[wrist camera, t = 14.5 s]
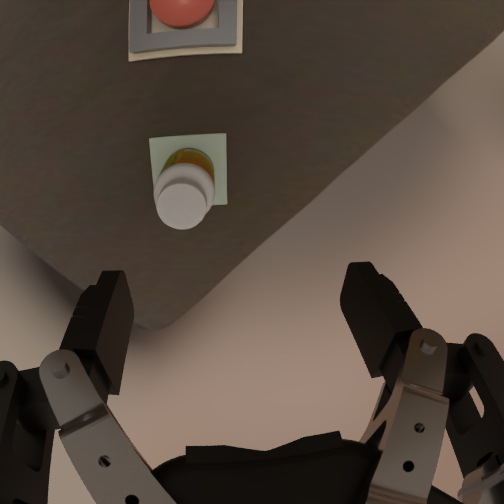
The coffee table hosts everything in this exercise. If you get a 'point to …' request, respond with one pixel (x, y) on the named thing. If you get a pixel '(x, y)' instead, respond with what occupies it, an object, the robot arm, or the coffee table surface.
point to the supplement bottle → (185, 188)
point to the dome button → (182, 12)
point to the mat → (205, 142)
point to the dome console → (185, 33)
